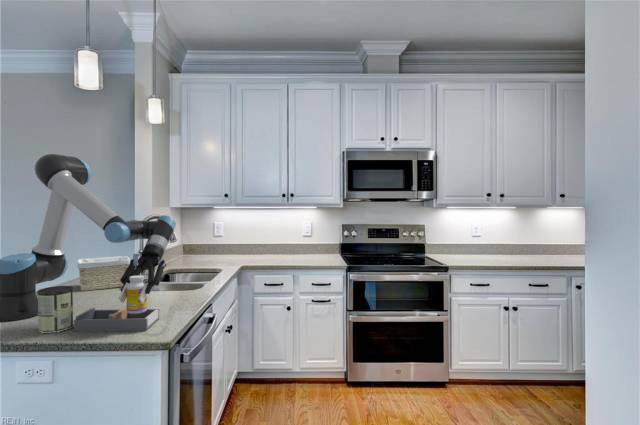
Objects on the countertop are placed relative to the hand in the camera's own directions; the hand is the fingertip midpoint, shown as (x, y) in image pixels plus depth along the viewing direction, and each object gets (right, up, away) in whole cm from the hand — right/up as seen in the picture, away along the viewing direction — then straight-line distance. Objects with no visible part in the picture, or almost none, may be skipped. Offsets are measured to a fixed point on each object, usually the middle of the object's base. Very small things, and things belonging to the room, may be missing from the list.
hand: (131, 300), depth 137 cm
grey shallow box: (-6, -10, +3) cm, 12 cm away
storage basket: (-46, -8, +67) cm, 82 cm away
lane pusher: (-7, -8, +3) cm, 11 cm away
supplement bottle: (0, -5, +4) cm, 6 cm away
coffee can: (-26, -10, -1) cm, 28 cm away
